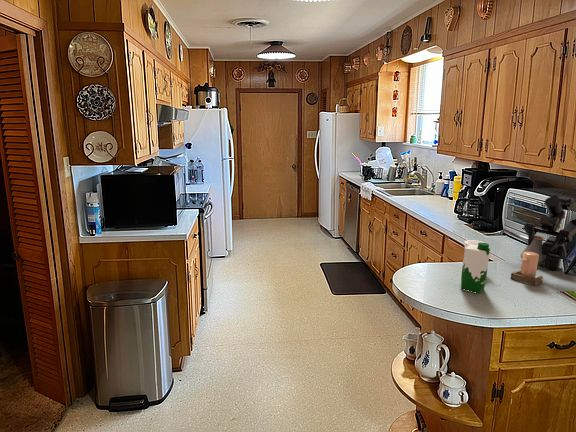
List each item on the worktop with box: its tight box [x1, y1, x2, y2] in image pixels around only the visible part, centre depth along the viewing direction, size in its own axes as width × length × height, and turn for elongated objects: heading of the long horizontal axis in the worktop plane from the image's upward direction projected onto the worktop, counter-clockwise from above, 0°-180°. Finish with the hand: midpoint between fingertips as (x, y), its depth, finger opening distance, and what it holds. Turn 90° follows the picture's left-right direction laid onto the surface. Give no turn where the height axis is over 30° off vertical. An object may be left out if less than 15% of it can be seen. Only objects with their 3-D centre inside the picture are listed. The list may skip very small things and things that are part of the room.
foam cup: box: [464, 239, 486, 249], centre depth 199 cm, size 10×9×13 cm
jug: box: [520, 251, 539, 279], centre depth 188 cm, size 8×6×12 cm
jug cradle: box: [510, 269, 544, 286], centre depth 189 cm, size 8×10×2 cm
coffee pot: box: [501, 228, 546, 266], centre depth 213 cm, size 21×12×15 cm, turn 60°
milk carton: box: [460, 242, 491, 294], centre depth 176 cm, size 9×9×20 cm
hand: (539, 247), depth 191 cm, fingers open, 9 cm apart
